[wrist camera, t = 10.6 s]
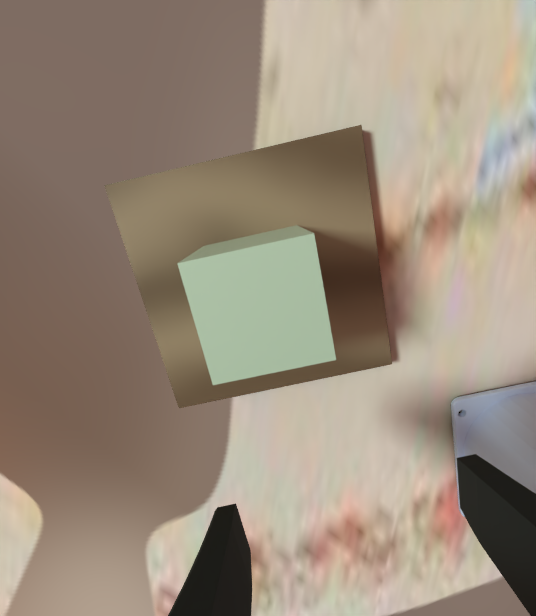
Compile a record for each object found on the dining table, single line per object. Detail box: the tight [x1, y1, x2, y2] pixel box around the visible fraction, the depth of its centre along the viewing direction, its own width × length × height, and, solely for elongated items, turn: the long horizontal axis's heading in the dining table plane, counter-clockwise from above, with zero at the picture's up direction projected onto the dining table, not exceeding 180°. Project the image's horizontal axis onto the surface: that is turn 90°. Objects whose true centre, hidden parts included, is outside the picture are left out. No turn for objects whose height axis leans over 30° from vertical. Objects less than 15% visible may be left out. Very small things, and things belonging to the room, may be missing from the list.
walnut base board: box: [105, 125, 392, 408], centre depth 19 cm, size 13×13×1 cm
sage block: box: [177, 225, 336, 385], centre depth 16 cm, size 5×5×6 cm
